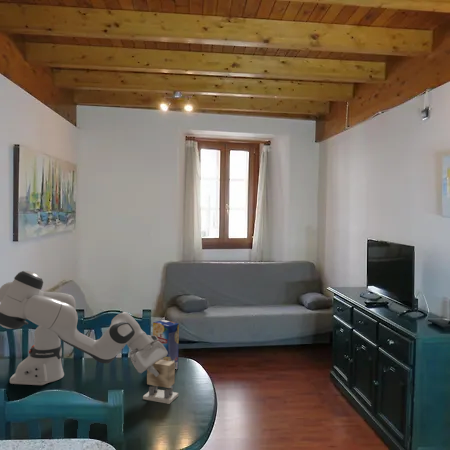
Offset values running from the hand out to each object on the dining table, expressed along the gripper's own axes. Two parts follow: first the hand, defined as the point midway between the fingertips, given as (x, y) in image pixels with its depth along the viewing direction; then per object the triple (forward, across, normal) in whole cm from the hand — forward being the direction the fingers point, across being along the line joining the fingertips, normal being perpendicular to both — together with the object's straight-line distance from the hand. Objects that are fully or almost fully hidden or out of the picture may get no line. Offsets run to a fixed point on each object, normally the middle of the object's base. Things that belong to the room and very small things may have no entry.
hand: (162, 372), depth 175 cm
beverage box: (-2, +30, +18) cm, 35 cm away
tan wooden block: (+3, 0, +4) cm, 5 cm away
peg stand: (+7, 0, +8) cm, 11 cm away
